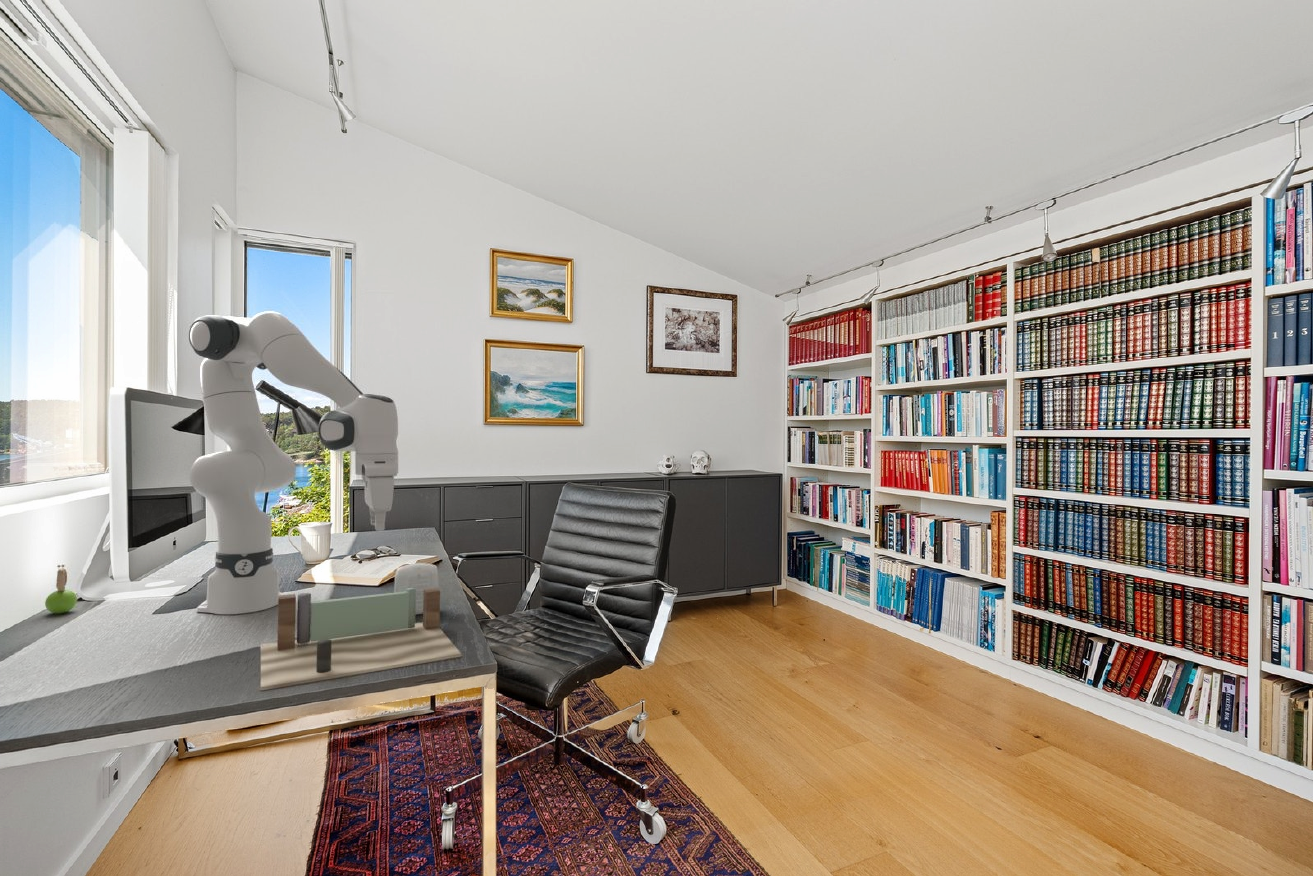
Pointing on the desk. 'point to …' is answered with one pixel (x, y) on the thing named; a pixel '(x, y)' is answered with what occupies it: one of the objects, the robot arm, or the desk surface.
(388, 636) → the gate frame
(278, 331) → the robot arm
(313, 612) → the gate
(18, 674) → the desk surface
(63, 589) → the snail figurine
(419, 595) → the photo printer
